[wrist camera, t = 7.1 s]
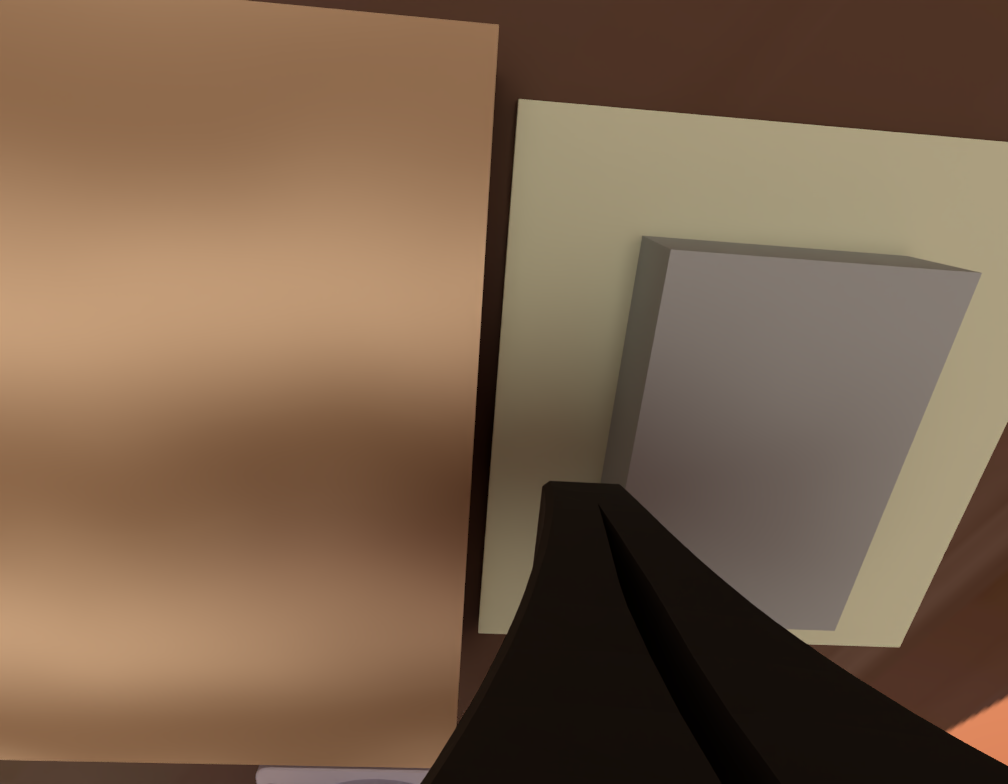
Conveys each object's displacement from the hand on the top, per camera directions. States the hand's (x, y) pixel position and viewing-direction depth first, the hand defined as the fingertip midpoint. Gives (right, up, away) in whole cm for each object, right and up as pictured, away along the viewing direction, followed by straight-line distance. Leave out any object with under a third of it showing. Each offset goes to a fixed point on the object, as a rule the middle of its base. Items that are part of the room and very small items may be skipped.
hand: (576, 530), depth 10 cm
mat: (+5, +1, +5) cm, 7 cm away
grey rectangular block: (+4, +1, +2) cm, 5 cm away
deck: (-9, +2, +4) cm, 10 cm away
